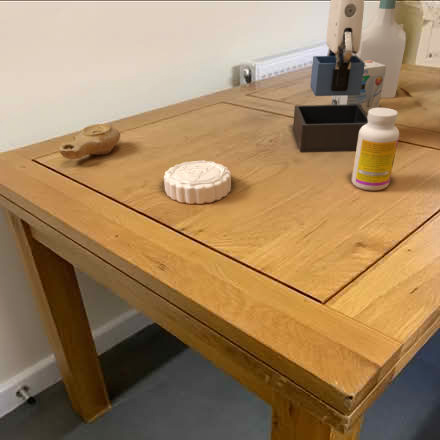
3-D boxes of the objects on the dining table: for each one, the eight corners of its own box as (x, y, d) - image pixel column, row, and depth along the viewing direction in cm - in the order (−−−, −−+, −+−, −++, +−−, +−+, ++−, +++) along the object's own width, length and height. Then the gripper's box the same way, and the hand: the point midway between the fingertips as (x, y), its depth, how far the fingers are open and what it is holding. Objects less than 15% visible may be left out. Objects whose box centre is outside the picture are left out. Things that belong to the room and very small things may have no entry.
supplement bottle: (394, 191, 83) (410, 116, 75) (357, 193, 82) (370, 118, 74) (380, 175, 88) (395, 104, 80) (346, 177, 88) (357, 106, 80)
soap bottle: (355, 99, 127) (373, -22, 110) (350, 91, 133) (366, -25, 116) (396, 99, 126) (420, -23, 109) (389, 91, 132) (411, -26, 116)
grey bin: (355, 129, 108) (359, 104, 105) (370, 150, 98) (374, 123, 94) (292, 130, 109) (294, 105, 105) (300, 152, 98) (302, 125, 95)
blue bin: (352, 86, 100) (357, 55, 96) (359, 95, 94) (365, 63, 90) (310, 87, 100) (313, 56, 96) (315, 96, 94) (318, 63, 91)
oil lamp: (59, 168, 94) (53, 144, 91) (79, 143, 106) (75, 120, 102) (111, 168, 94) (107, 143, 91) (126, 142, 105) (122, 120, 102)
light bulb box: (344, 117, 115) (351, 70, 109) (329, 109, 120) (334, 64, 114) (379, 110, 119) (387, 64, 112) (362, 104, 124) (370, 59, 117)
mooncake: (188, 171, 91) (187, 153, 89) (242, 183, 86) (242, 164, 84) (151, 196, 83) (149, 177, 81) (209, 210, 78) (208, 190, 76)
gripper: (381, -14, 78) (363, 97, 89) (358, -22, 92) (344, 75, 103) (336, -13, 79) (324, 97, 89) (320, -21, 92) (310, 75, 103)
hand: (335, 85), depth 96 cm, fingers closed on blue bin, 7 cm apart
